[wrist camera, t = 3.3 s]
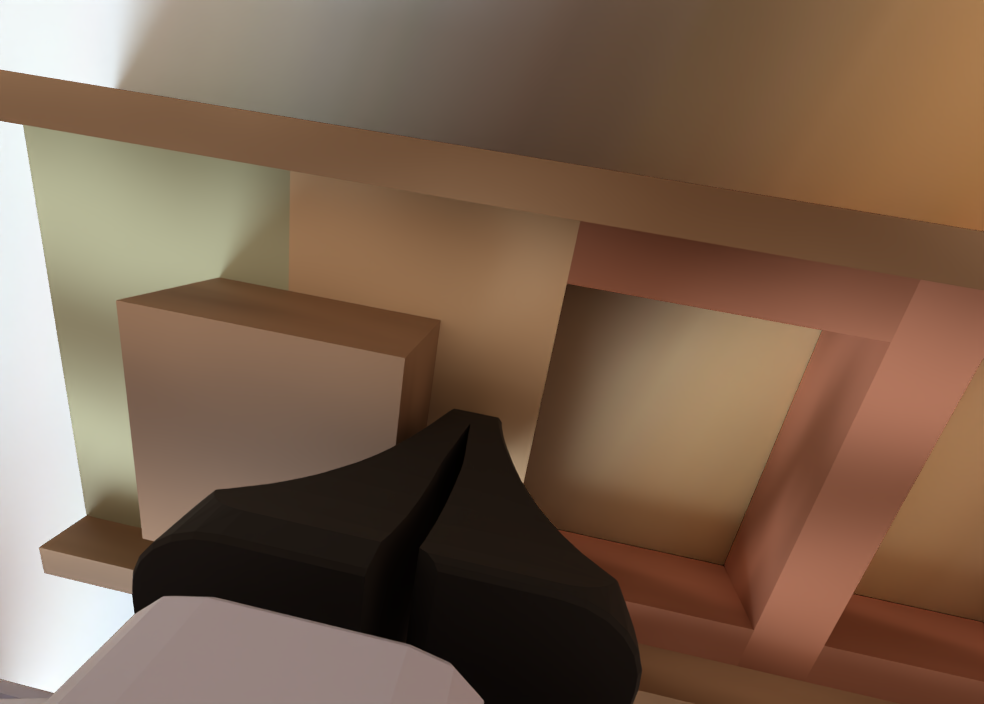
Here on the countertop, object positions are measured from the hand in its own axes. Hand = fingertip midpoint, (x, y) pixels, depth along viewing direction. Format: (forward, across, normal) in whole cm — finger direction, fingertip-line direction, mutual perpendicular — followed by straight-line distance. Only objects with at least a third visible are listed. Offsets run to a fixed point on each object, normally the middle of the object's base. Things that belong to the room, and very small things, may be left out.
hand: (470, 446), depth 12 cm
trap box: (+3, -4, 0) cm, 5 cm away
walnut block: (+1, +4, 0) cm, 4 cm away
